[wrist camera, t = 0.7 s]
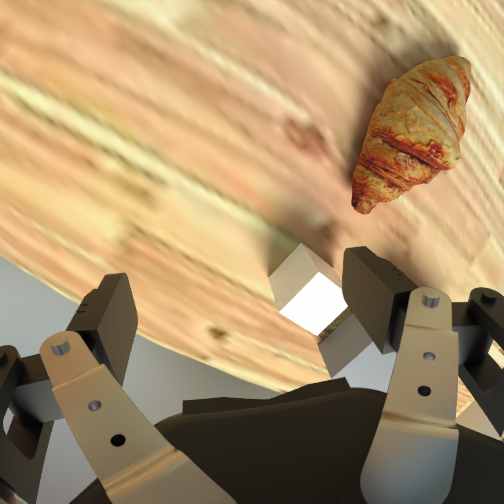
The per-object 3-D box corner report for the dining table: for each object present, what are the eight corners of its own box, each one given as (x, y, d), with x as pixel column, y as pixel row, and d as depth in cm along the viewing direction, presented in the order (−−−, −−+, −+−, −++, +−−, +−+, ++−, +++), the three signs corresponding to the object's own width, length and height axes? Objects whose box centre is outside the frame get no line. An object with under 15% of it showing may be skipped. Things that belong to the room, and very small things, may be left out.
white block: (301, 241, 32) (319, 271, 27) (333, 268, 34) (354, 299, 28) (268, 277, 33) (279, 312, 28) (301, 300, 35) (316, 335, 30)
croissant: (421, 43, 27) (436, 8, 19) (490, 99, 26) (520, 77, 18) (318, 181, 33) (312, 175, 25) (393, 242, 31) (408, 254, 24)
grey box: (386, 274, 35) (411, 303, 30) (430, 316, 40) (451, 342, 34) (317, 344, 39) (331, 378, 33) (370, 372, 43) (385, 402, 38)
